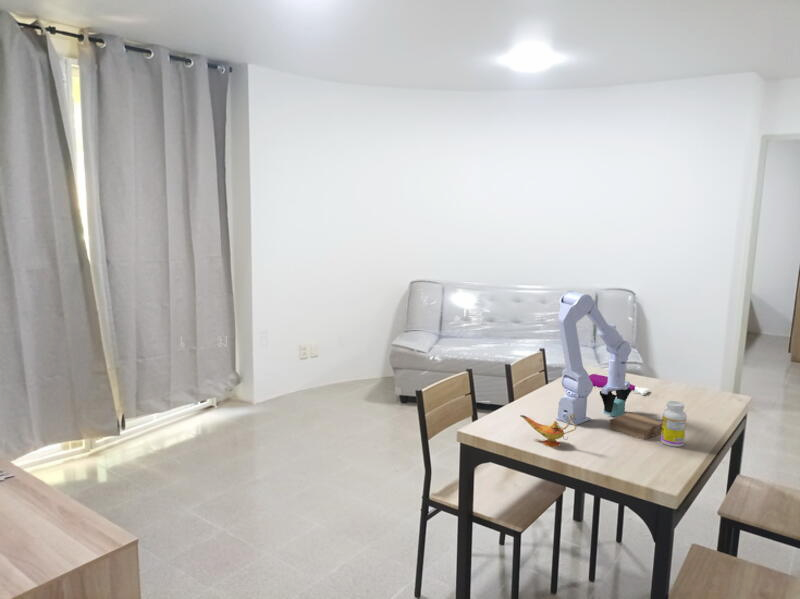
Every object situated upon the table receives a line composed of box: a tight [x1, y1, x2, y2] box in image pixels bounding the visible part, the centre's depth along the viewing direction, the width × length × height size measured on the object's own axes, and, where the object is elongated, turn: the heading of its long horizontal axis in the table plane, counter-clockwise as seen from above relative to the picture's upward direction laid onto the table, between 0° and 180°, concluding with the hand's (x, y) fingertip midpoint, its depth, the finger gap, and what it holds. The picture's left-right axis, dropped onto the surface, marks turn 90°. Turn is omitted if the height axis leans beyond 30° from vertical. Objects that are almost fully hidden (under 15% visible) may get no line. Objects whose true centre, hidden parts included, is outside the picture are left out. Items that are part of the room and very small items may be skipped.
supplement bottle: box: [660, 400, 688, 448], centre depth 175 cm, size 7×7×13 cm
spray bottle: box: [589, 373, 650, 396], centre depth 232 cm, size 3×11×24 cm
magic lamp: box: [519, 414, 577, 448], centre depth 175 cm, size 7×18×11 cm, turn 55°
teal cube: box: [603, 397, 626, 418], centre depth 201 cm, size 5×5×5 cm
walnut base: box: [608, 411, 662, 441], centre depth 186 cm, size 12×12×3 cm
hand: (614, 409), depth 201 cm, fingers open, 7 cm apart
